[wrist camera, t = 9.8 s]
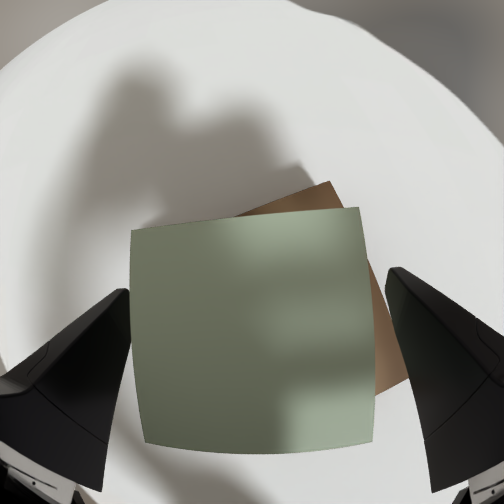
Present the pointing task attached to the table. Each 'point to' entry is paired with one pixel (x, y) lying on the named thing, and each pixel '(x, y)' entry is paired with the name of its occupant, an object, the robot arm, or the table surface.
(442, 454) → the robot arm
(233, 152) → the table surface
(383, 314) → the walnut plinth
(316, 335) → the sage block
